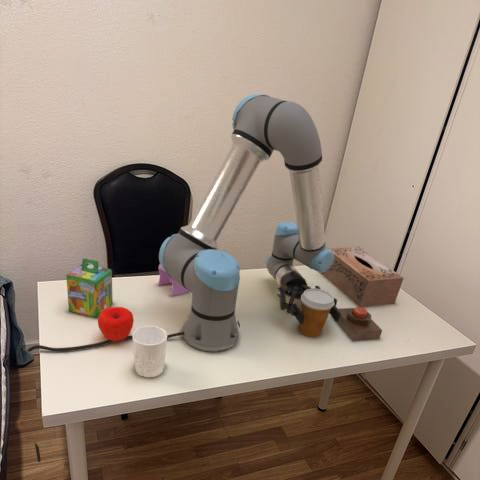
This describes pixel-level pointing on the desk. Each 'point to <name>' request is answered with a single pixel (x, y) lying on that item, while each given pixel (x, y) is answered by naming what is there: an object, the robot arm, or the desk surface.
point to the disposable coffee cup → (315, 311)
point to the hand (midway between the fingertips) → (320, 318)
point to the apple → (115, 323)
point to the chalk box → (89, 288)
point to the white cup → (149, 350)
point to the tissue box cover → (363, 277)
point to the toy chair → (166, 279)
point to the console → (358, 326)
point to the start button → (360, 312)
